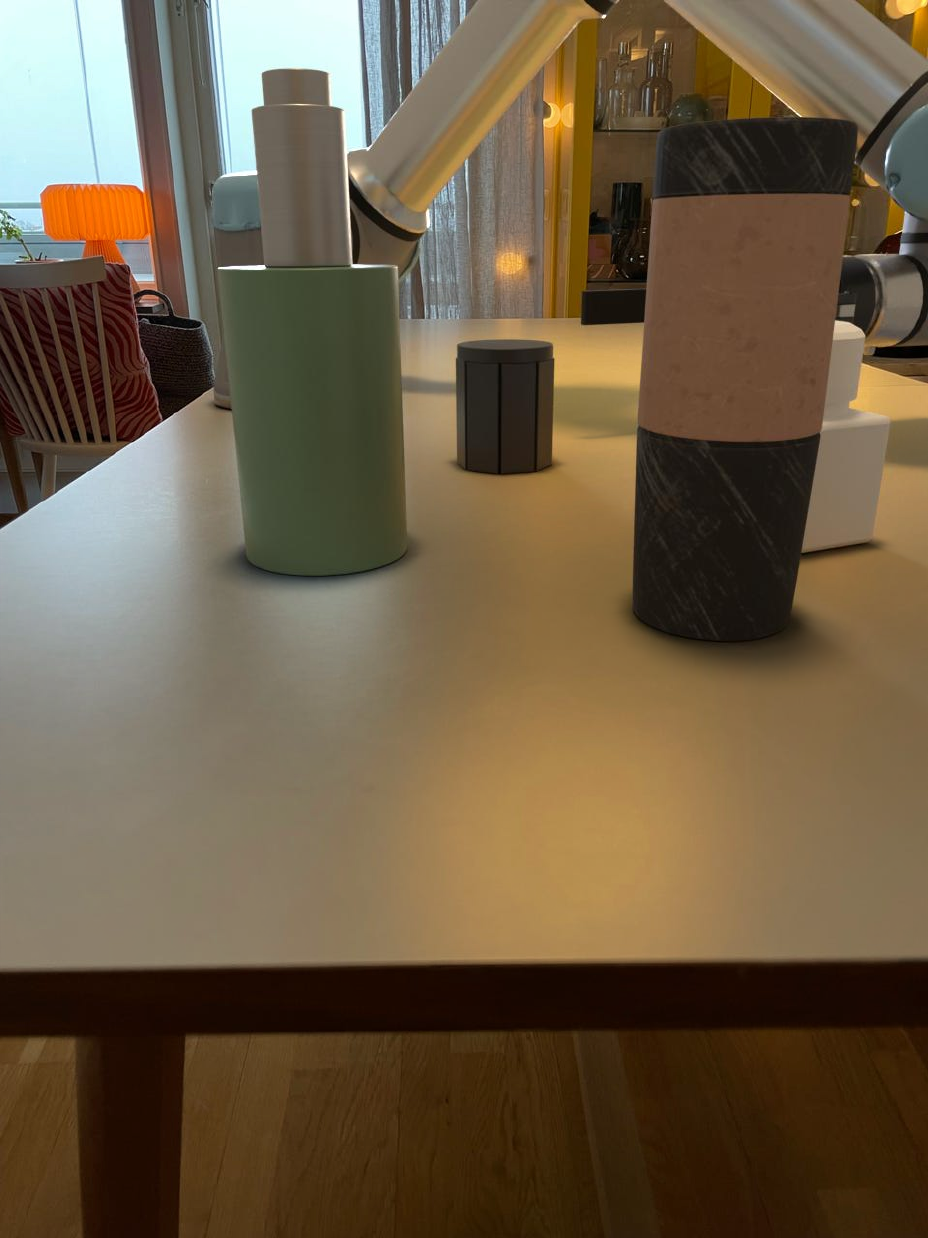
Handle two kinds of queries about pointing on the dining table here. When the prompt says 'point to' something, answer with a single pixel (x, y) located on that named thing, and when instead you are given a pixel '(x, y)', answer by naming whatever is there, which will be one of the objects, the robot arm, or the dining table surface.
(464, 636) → the dining table surface
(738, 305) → the travel mug
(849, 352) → the medicine bottle
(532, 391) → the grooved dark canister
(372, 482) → the flask
